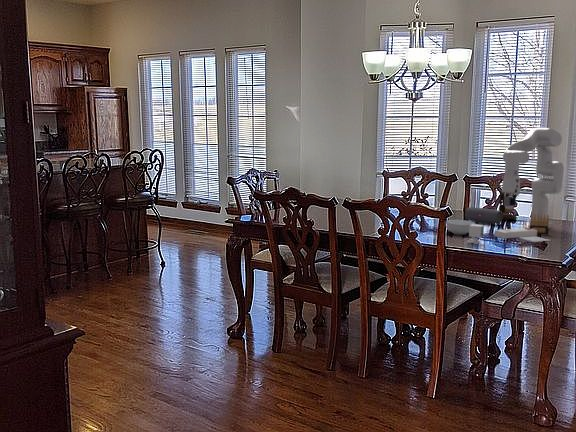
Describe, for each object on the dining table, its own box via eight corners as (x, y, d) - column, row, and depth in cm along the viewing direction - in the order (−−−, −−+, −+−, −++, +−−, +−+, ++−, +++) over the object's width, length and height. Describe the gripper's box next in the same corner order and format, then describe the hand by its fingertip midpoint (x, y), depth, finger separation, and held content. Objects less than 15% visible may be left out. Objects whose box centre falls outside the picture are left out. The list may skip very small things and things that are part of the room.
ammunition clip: (548, 234, 356) (549, 214, 354) (548, 234, 354) (549, 214, 352) (528, 233, 359) (530, 213, 358) (528, 233, 358) (530, 213, 356)
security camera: (479, 244, 324) (480, 226, 322) (467, 243, 328) (467, 225, 326) (482, 242, 329) (483, 224, 328) (470, 241, 333) (471, 223, 331)
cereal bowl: (454, 236, 347) (455, 224, 346) (439, 231, 363) (440, 220, 361) (480, 235, 351) (480, 223, 350) (464, 230, 367) (465, 219, 366)
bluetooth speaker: (464, 221, 399) (464, 207, 398) (471, 220, 406) (472, 205, 404) (495, 226, 383) (496, 210, 381) (502, 224, 389) (503, 209, 388)
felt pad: (535, 237, 346) (535, 236, 346) (550, 241, 335) (551, 240, 335) (518, 238, 342) (518, 237, 341) (534, 242, 330) (534, 241, 330)
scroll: (504, 222, 400) (506, 192, 397) (489, 218, 413) (490, 190, 410) (521, 220, 405) (523, 191, 402) (505, 217, 419) (507, 189, 416)
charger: (510, 207, 347) (511, 196, 346) (515, 208, 344) (516, 197, 343) (503, 208, 346) (504, 196, 345) (508, 209, 342) (509, 197, 341)
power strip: (526, 233, 357) (527, 226, 357) (536, 235, 350) (537, 229, 349) (494, 236, 349) (494, 229, 348) (503, 238, 341) (504, 231, 341)
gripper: (527, 174, 335) (525, 206, 338) (506, 171, 351) (504, 202, 353) (516, 174, 333) (514, 206, 335) (496, 172, 348) (494, 203, 351)
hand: (509, 204), depth 344 cm, fingers closed on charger, 4 cm apart
